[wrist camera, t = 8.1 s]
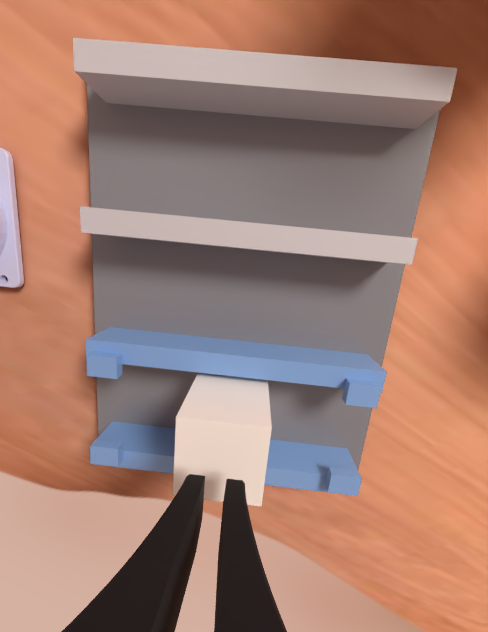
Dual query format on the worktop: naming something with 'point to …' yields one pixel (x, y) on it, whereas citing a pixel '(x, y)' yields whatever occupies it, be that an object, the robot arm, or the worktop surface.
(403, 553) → the worktop surface
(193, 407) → the cream plug
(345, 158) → the grey railed board
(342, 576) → the worktop surface
